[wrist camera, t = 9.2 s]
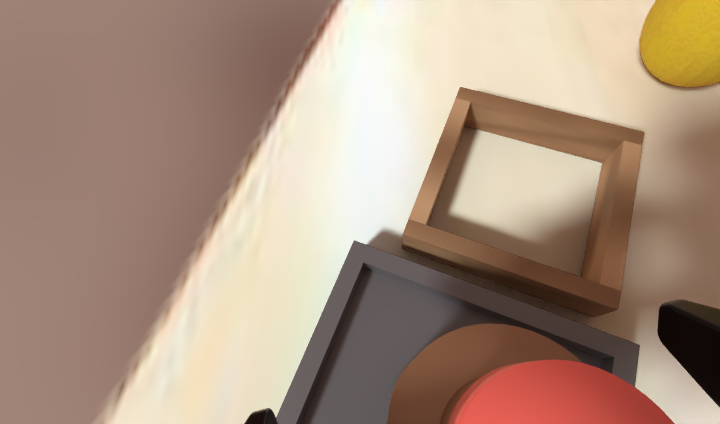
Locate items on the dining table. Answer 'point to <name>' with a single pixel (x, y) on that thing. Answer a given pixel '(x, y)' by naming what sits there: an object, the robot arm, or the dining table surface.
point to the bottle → (512, 384)
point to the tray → (412, 336)
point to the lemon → (683, 42)
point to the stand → (558, 133)
